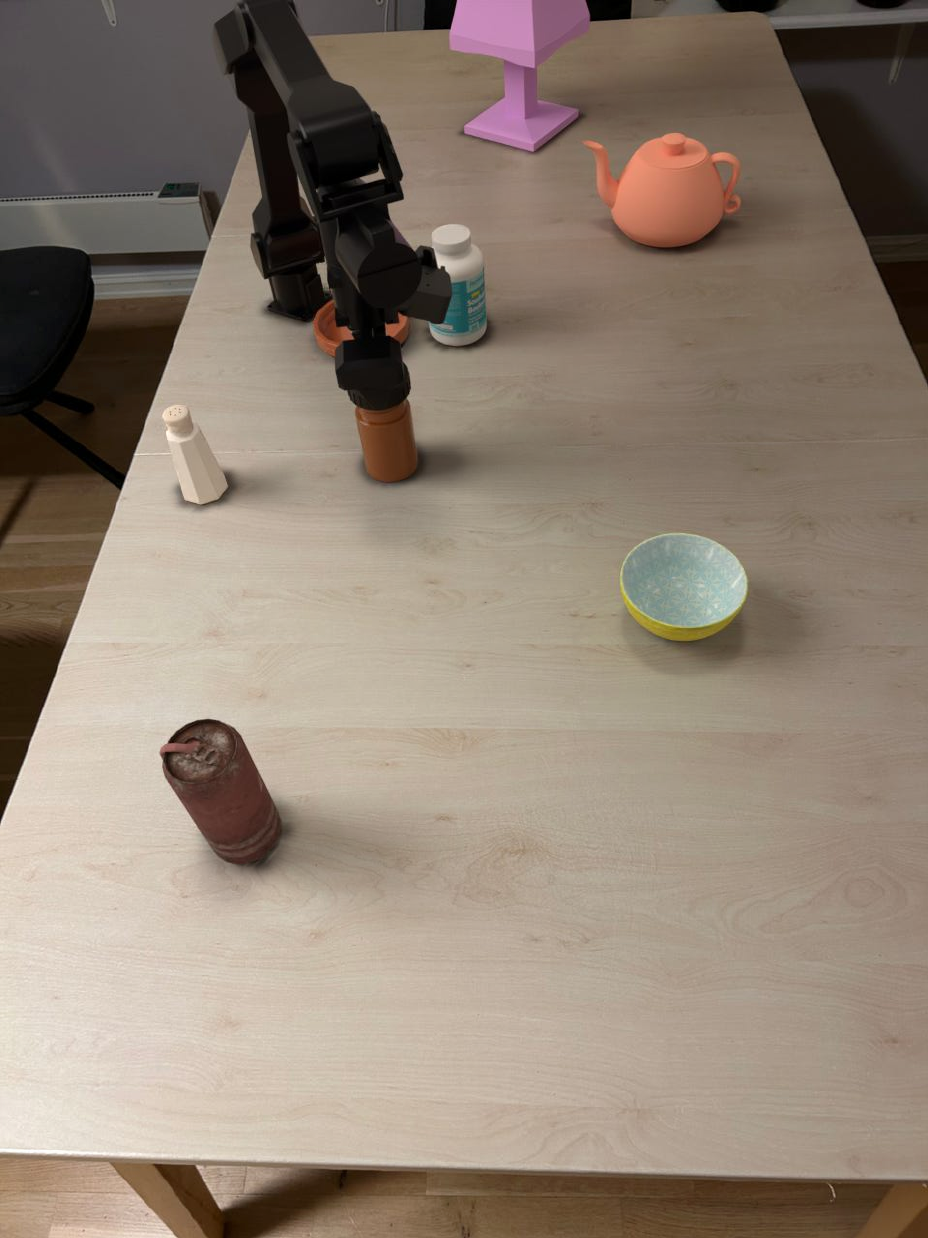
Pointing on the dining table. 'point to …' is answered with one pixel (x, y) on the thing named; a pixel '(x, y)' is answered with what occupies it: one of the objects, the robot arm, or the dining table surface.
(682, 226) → the teapot
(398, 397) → the lid
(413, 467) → the jam jar
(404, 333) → the dish
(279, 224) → the robot arm
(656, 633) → the bowl
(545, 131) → the pink table lamp
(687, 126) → the dining table surface
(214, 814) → the can
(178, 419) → the pepper shaker
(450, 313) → the pill bottle
